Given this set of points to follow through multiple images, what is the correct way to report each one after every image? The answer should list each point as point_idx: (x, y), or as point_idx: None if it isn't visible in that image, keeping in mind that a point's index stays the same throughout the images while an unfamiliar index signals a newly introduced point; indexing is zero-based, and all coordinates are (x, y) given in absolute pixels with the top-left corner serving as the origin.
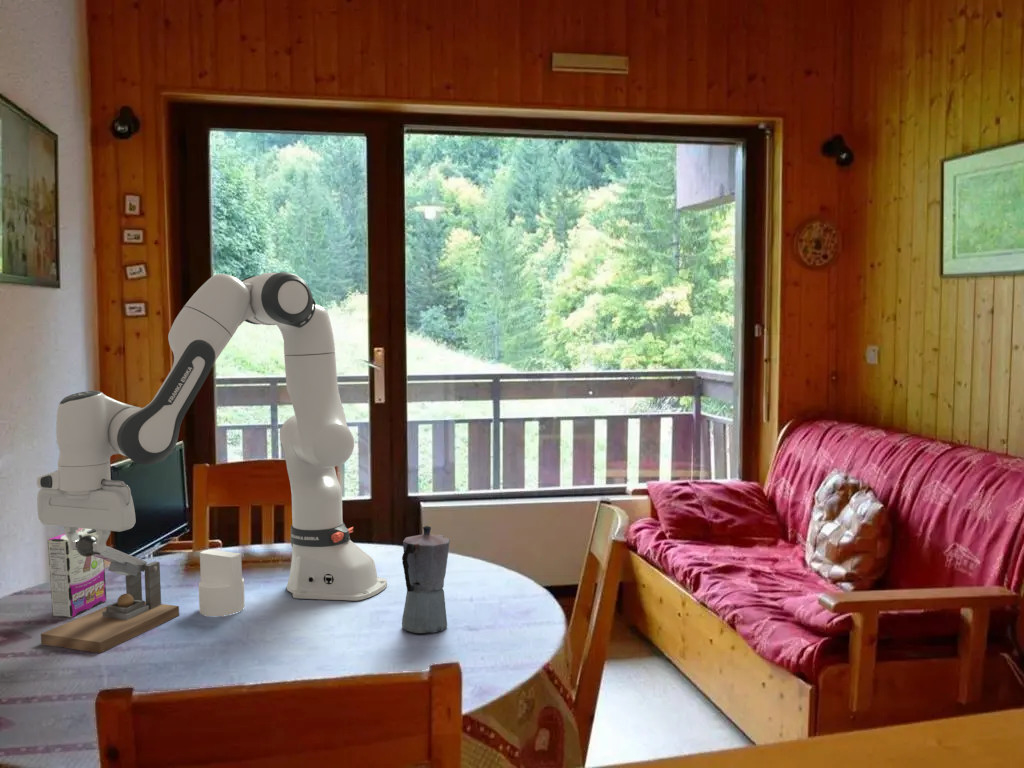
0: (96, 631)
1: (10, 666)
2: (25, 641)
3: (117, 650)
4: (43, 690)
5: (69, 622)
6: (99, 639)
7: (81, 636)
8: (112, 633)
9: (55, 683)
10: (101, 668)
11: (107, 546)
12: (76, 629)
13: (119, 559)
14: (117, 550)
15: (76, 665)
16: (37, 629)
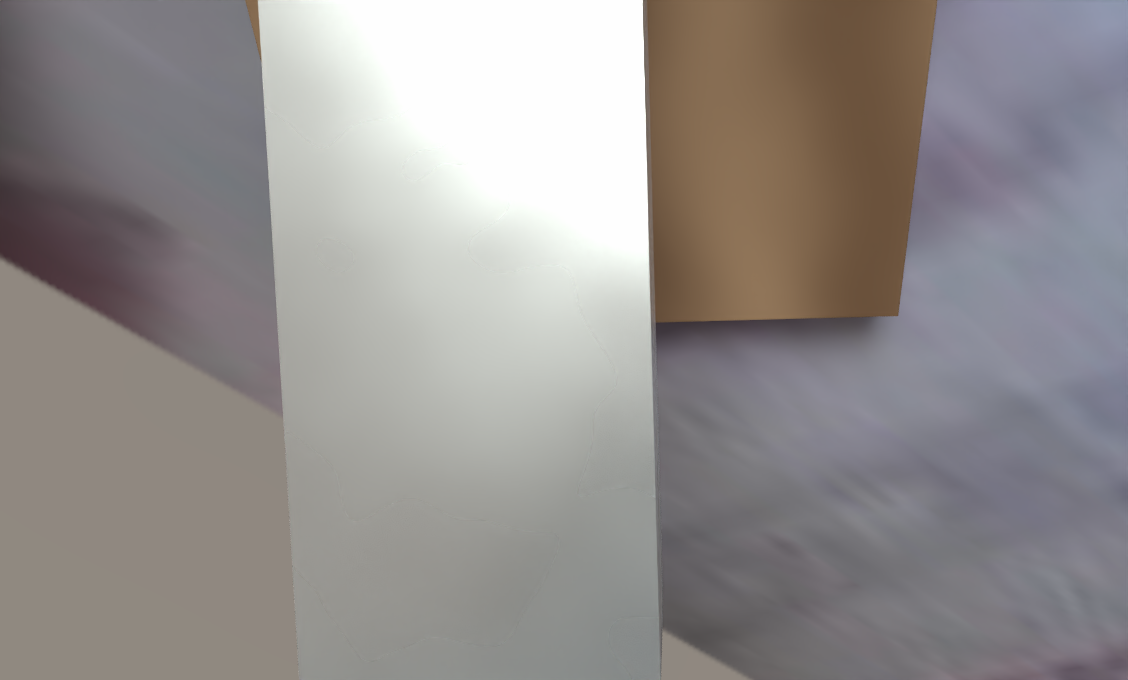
0: (687, 163)
1: None
2: (202, 285)
3: (972, 195)
4: (938, 660)
5: None
6: (848, 276)
7: (663, 278)
8: (858, 152)
9: (937, 605)
10: (1064, 429)
11: (657, 538)
12: None
13: (646, 38)
14: (642, 171)
15: (872, 441)
16: (13, 95)
